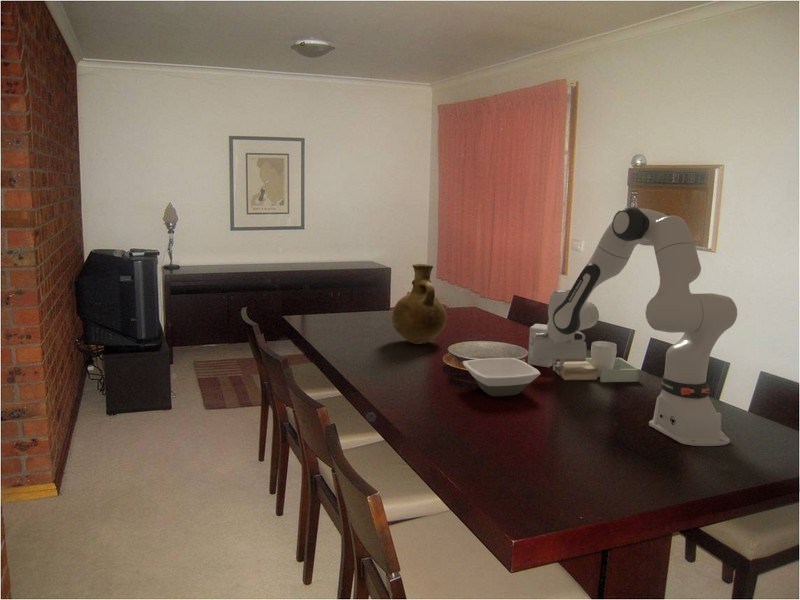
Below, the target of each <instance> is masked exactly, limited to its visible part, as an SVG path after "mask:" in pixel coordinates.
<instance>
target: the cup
mask: <svg viewBox="0 0 800 600" xmlns="http://www.w3.org/2000/svg"><path fill="white" fill-rule="evenodd" d="M617 346H618V345H617V343H615V342H611V341H605V340H604V341H603V340H596V341H592V342H591V348H590V358H591V359H592V365H593V366H594V367H596V368H597V369H598V370H597V378H600V371H601V369H613V367H614V362H615V358H617V352H618V351H617V348H618V347H617Z"/></svg>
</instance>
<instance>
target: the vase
mask: <svg viewBox="0 0 800 600" xmlns="http://www.w3.org/2000/svg"><path fill="white" fill-rule="evenodd" d="M412 268H413V271H414V278H413V280H412V281H411V285H412V288H411V291H408V292H407V293H406V295H404V296H402V297H401V298H400V299H398V301H397V302H396V304H395V306H394V308H393V310H392V315H391V321H392V327H393V329H395V331H396V332H397V333H398V334H399V335H400V336H401V337H402V338H403V339H405V340H406V341H408V342H410V343H411V344H413V343H414V345H422V344H423V343H424V344H427V343H428V342H431V341H432V340H434V339H436V337H438V336H439V335H440V334H441V333H442V331H444V329H445V328H446V325H447V320H448V319H447V311H446V309H445V306H444V305H443V303H442V302H441V300H439V299H438V298H437V297H436V295H435V294H436V292H435V286H434V285H433V284H432V282H431V275H432V270H433V268H434V265H433V264H428V263H427V264H425V263H415V264H414V263H413V264H412ZM424 344H423V345H424Z"/></svg>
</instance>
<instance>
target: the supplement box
mask: <svg viewBox="0 0 800 600" xmlns="http://www.w3.org/2000/svg"><path fill="white" fill-rule="evenodd" d="M535 334H547V324H544V323H543V324H542V323H534V324H533V325H532V326H530V327H529V338H528V340H529V341H528V355H527V364H529V365H530V366H537V367H543V368H544V367H545V368H550V367H553V365H552V363H551V361H550V359H533V358H532V357H531V356H530V350H531V345H532V344H531V337H532V336H533V335H535ZM534 337H535V336H534ZM554 363H555V364H556V362H554Z"/></svg>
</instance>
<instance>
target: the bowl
mask: <svg viewBox="0 0 800 600" xmlns="http://www.w3.org/2000/svg"><path fill="white" fill-rule="evenodd" d="M462 365H463V366H464V367H465V369H466V370H467V371H468V372H469V374H471V376H472V377H473V378H474V380H475V381H476V383H477V384H478V386H479V387H480V389H481V390H482V391H483V392H484V393H485V394H487V395H488V396H491V397H507V396H508V397H510V396H517V395H519V394H520V393H522V391H523V390H525V388H526V387H527V386H528V385H529V384H530V383H532V382H533V381H534V380H536V379H537V378H538V377H539V376H540V375H541V372H540V371H539V370H538V369H537V368H535V367H533V365H530V364H528V362H525V361H524V360H521V359H518V358H516V357H494V358H493V357H492V358H490V357H489V358H478V359H470V360H469V359H468V360H464V361H463V360H462Z"/></svg>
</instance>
